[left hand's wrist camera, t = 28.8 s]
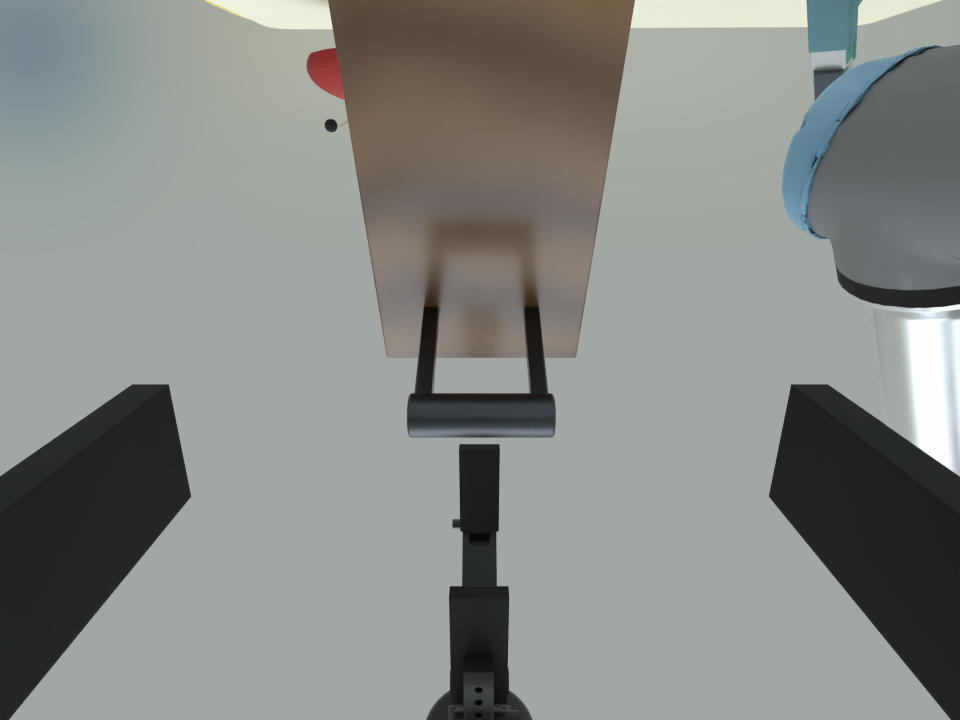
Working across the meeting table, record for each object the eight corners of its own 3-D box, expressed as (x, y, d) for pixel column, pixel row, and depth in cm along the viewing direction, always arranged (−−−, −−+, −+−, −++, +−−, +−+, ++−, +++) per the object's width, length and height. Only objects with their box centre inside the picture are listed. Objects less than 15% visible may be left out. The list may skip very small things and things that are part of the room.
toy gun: (829, 52, 64) (806, 133, 63) (828, -113, 49) (797, -10, 47) (868, 49, 62) (845, 133, 61) (881, -124, 46) (850, -17, 45)
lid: (573, 341, 31) (594, 477, 25) (389, 341, 31) (368, 477, 25) (634, -51, 18) (705, 37, 13) (328, -51, 18) (257, 37, 13)
